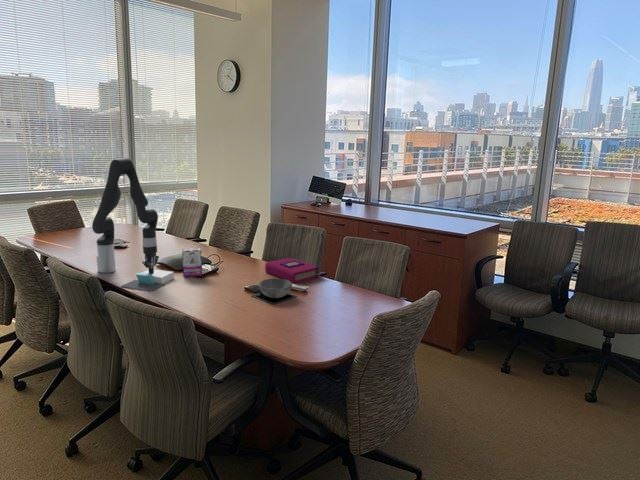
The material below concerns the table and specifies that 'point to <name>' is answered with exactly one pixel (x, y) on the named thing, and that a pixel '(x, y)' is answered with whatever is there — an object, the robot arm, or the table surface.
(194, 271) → the candy bar box
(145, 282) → the teal flat block
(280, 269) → the book
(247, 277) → the table surface
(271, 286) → the bowl
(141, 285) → the mat
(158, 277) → the block
